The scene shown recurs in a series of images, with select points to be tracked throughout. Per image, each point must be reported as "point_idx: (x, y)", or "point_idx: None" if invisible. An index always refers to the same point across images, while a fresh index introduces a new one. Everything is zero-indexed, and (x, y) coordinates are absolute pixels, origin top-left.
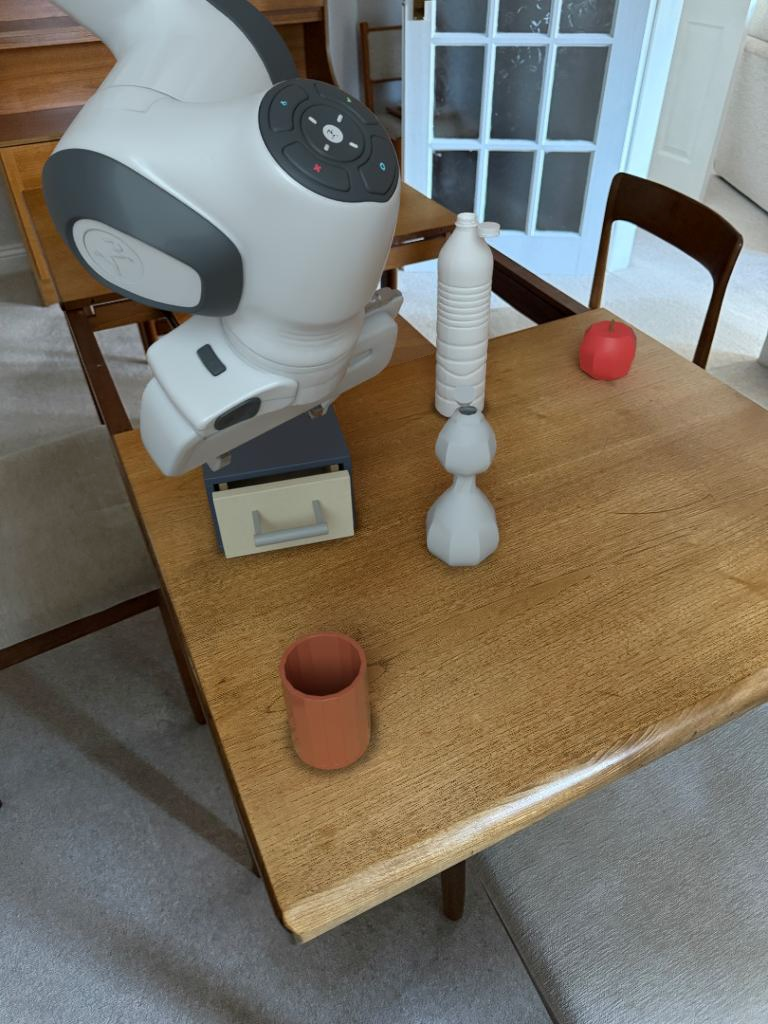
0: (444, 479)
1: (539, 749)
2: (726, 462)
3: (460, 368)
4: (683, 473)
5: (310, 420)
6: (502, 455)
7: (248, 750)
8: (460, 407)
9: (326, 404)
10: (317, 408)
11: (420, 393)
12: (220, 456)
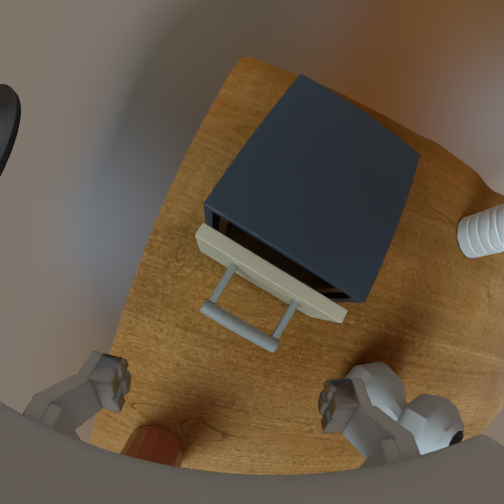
0: (413, 304)
1: None
2: (495, 404)
3: (496, 241)
4: (482, 401)
5: (373, 206)
6: (453, 312)
7: (106, 415)
8: (459, 424)
9: (349, 440)
10: (333, 431)
11: (459, 198)
12: (101, 404)
